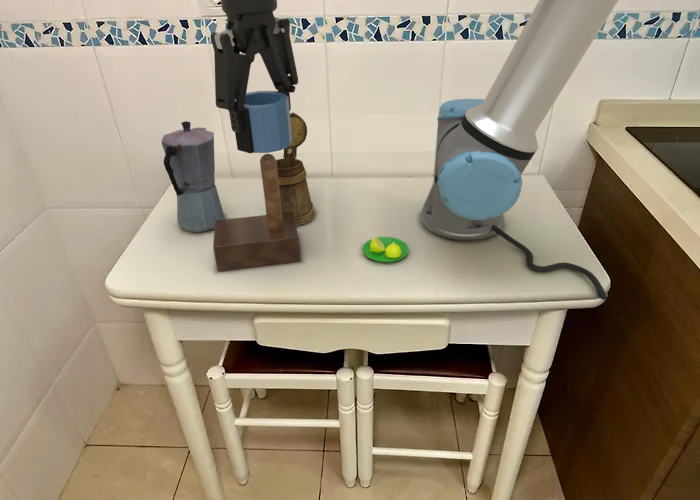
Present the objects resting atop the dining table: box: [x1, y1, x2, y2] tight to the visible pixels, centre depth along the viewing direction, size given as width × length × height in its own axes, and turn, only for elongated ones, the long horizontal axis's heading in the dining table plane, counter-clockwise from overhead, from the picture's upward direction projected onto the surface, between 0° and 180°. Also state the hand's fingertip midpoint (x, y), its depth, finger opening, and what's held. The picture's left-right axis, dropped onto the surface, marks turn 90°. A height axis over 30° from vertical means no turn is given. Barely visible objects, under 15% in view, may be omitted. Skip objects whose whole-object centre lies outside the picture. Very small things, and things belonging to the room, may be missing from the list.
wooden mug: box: [276, 112, 315, 227], centre depth 100 cm, size 9×14×18 cm, turn 174°
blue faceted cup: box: [235, 90, 292, 154], centre depth 80 cm, size 8×8×7 cm
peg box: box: [212, 153, 301, 273], centre depth 87 cm, size 14×9×18 cm, turn 100°
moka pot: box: [161, 120, 226, 233], centre depth 96 cm, size 10×15×20 cm, turn 173°
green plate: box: [362, 236, 409, 263], centre depth 91 cm, size 8×8×3 cm
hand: (265, 141), depth 81 cm, fingers closed on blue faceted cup, 8 cm apart
